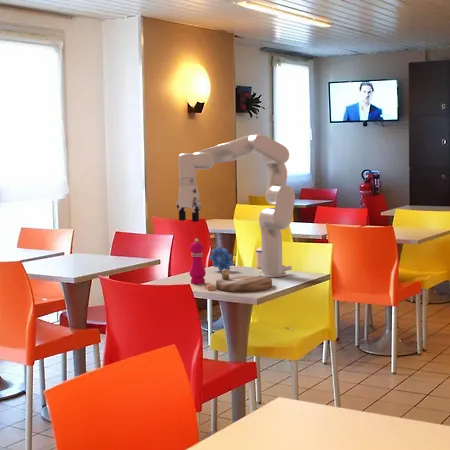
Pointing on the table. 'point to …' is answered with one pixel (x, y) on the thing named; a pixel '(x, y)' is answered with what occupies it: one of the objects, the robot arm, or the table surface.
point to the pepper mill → (197, 263)
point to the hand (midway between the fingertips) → (188, 220)
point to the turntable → (242, 282)
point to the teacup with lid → (259, 257)
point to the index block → (209, 287)
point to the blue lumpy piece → (221, 258)
